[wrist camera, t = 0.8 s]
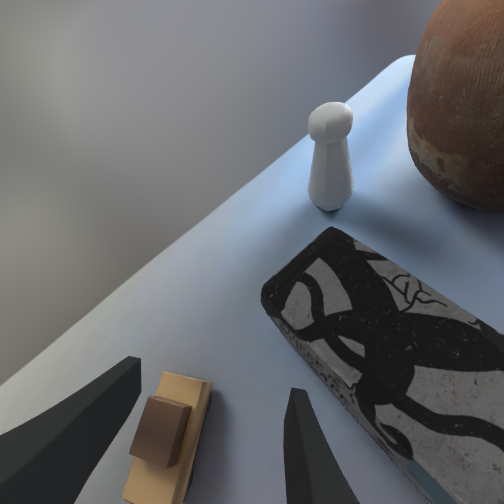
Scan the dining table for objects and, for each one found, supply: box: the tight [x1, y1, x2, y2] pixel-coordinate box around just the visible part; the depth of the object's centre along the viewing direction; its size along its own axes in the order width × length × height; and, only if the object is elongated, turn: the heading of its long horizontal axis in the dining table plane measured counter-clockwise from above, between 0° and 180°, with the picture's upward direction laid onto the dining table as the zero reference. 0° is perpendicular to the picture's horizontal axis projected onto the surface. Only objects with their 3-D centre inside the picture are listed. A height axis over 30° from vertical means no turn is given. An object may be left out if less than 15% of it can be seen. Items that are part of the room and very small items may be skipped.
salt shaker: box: [308, 102, 354, 212], centre depth 29 cm, size 6×6×13 cm
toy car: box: [261, 226, 504, 504], centre depth 18 cm, size 11×25×10 cm, turn 39°
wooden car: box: [121, 371, 212, 504], centre depth 23 cm, size 10×5×5 cm, turn 169°
